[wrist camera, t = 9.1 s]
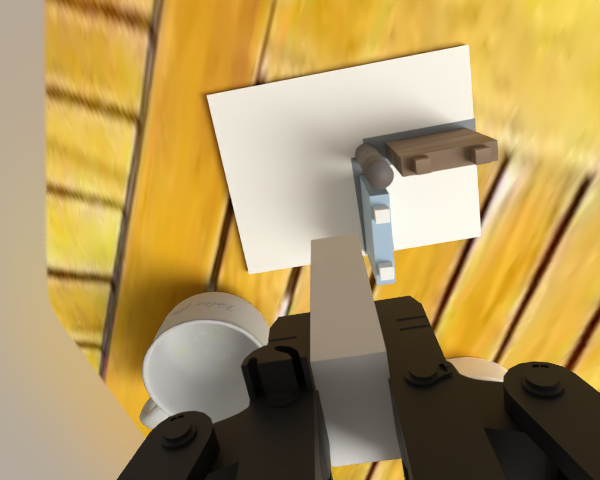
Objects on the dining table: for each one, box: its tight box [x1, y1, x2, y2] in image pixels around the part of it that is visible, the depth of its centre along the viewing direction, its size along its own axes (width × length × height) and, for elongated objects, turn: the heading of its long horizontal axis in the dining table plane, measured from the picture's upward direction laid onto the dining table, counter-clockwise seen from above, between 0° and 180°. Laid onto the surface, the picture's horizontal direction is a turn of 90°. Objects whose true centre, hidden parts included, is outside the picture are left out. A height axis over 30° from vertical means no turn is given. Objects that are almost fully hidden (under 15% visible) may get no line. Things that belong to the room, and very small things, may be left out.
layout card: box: [207, 45, 481, 274], centre depth 42 cm, size 16×21×1 cm
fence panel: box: [360, 175, 396, 285], centre depth 39 cm, size 1×7×8 cm, turn 7°
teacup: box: [140, 292, 269, 429], centre depth 44 cm, size 14×11×8 cm
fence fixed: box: [355, 128, 498, 189], centre depth 37 cm, size 2×9×9 cm, turn 100°
